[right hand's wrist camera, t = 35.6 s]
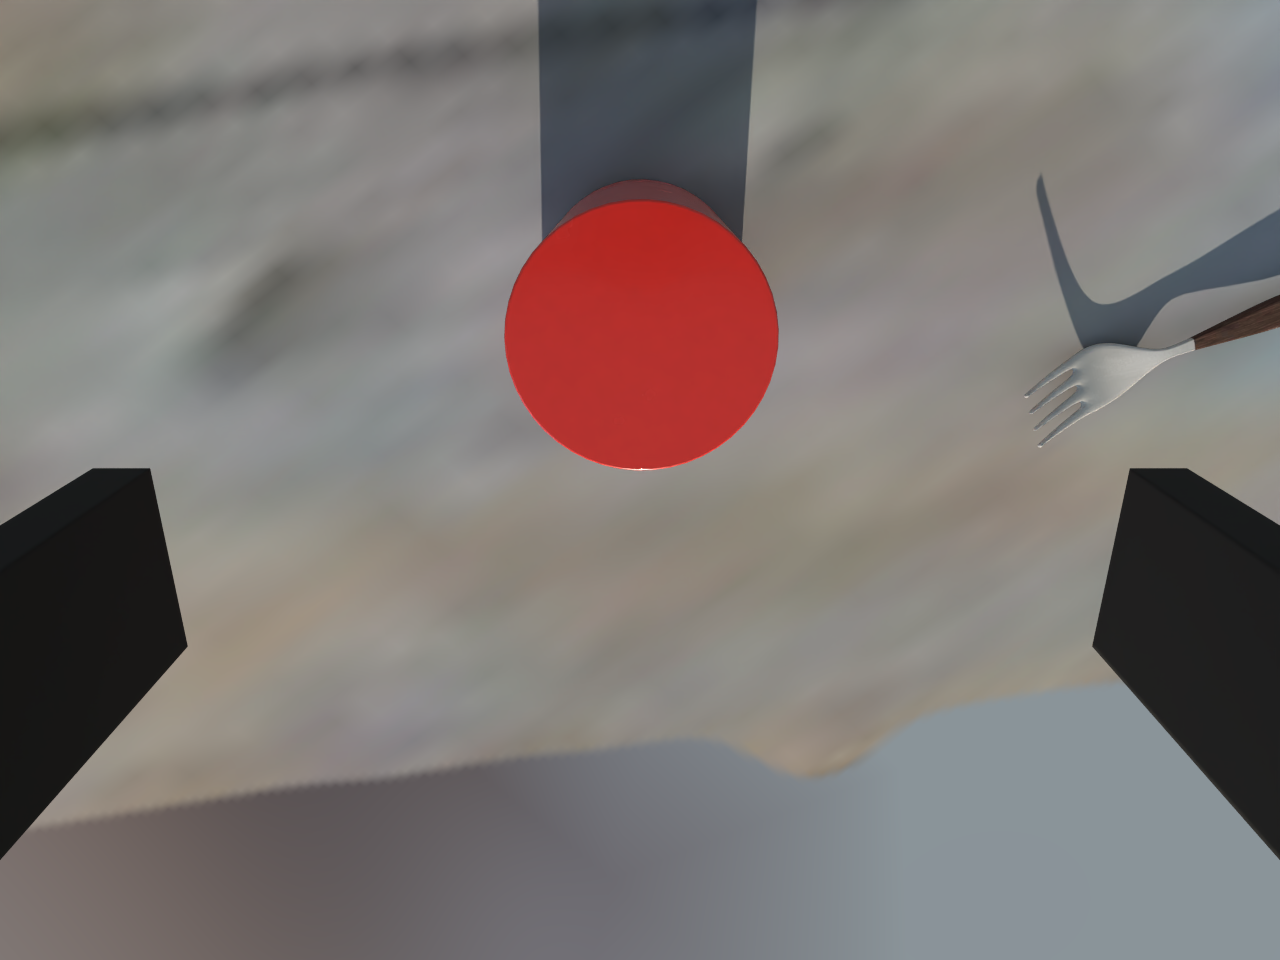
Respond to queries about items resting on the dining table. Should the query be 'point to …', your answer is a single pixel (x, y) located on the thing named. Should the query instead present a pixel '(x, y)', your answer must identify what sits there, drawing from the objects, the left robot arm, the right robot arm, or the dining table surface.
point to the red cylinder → (641, 328)
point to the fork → (1138, 363)
